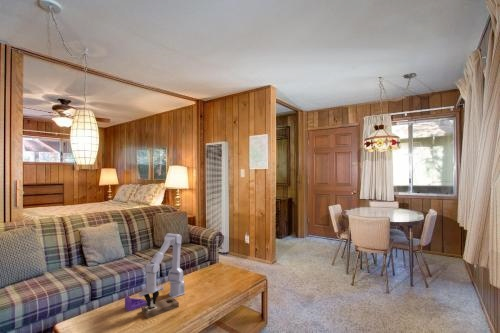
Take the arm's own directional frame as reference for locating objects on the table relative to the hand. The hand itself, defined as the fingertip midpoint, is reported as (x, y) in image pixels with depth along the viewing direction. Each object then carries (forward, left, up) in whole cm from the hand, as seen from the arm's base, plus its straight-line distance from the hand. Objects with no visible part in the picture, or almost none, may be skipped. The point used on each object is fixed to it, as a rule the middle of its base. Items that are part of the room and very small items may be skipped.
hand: (151, 304), depth 161 cm
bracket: (+4, -14, -6) cm, 15 cm away
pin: (0, 0, -4) cm, 4 cm away
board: (-6, 0, -5) cm, 8 cm away
